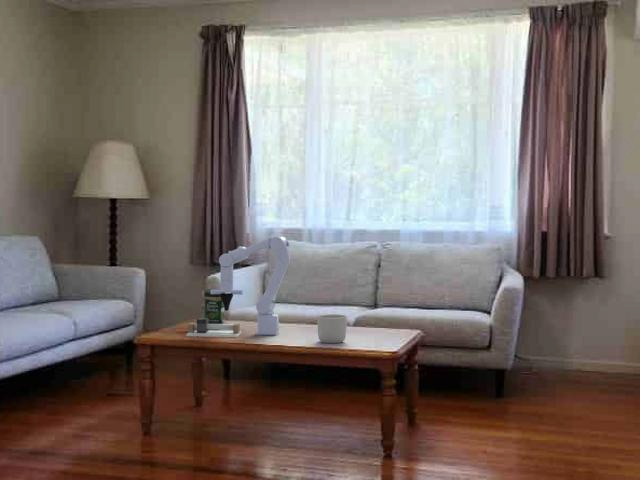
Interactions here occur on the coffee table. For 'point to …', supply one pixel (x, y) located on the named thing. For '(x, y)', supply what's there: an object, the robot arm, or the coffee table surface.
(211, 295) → the coffee jar
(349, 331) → the coffee table surface
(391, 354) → the coffee table surface
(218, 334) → the rail
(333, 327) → the planter
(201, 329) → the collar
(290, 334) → the coffee table surface
